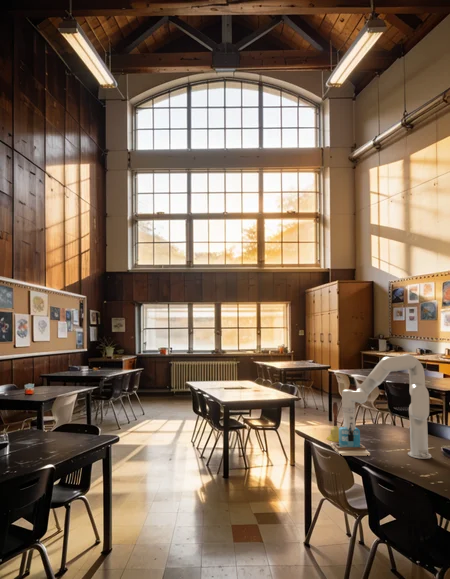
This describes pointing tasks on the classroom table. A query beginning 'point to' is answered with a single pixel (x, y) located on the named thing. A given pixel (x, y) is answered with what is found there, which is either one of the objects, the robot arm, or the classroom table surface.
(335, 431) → the handbell
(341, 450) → the jig
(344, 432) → the data package
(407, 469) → the classroom table surface
